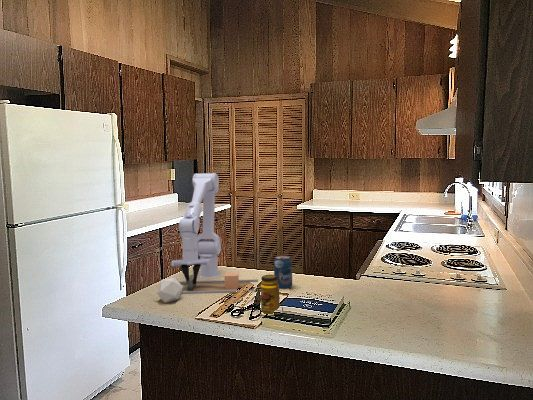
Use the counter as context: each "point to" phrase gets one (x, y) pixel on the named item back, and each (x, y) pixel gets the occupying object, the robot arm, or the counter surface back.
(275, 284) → the condiment
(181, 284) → the lane rails
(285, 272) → the soda can
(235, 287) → the cube
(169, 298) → the die
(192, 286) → the large flat tan board
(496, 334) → the counter surface
